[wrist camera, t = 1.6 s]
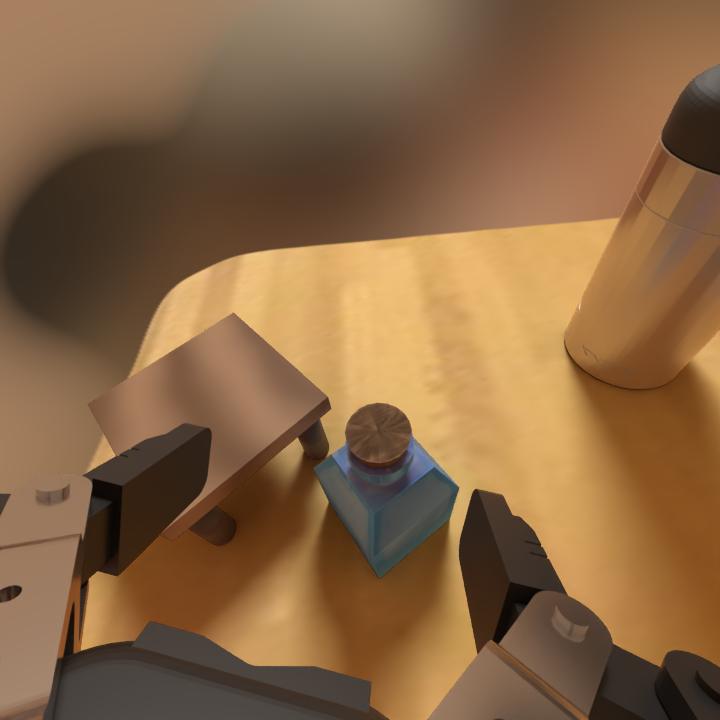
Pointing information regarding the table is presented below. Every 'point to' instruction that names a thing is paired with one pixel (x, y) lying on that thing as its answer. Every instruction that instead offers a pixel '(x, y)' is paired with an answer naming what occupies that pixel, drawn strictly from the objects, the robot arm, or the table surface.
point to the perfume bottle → (386, 486)
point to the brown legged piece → (218, 413)
